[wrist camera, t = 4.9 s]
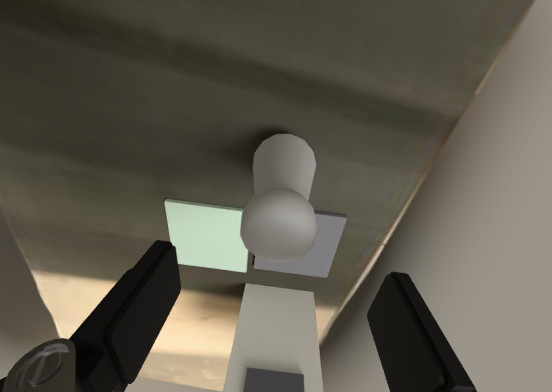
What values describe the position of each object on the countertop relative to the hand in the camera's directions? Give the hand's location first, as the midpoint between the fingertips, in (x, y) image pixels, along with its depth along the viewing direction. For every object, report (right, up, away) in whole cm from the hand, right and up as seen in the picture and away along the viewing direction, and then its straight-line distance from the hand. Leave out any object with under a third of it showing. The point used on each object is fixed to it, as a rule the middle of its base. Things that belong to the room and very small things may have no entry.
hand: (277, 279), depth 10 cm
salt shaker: (+1, +8, +13) cm, 15 cm away
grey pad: (+2, -2, +18) cm, 18 cm away
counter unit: (0, -12, +24) cm, 27 cm away
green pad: (-9, -2, +19) cm, 20 cm away
